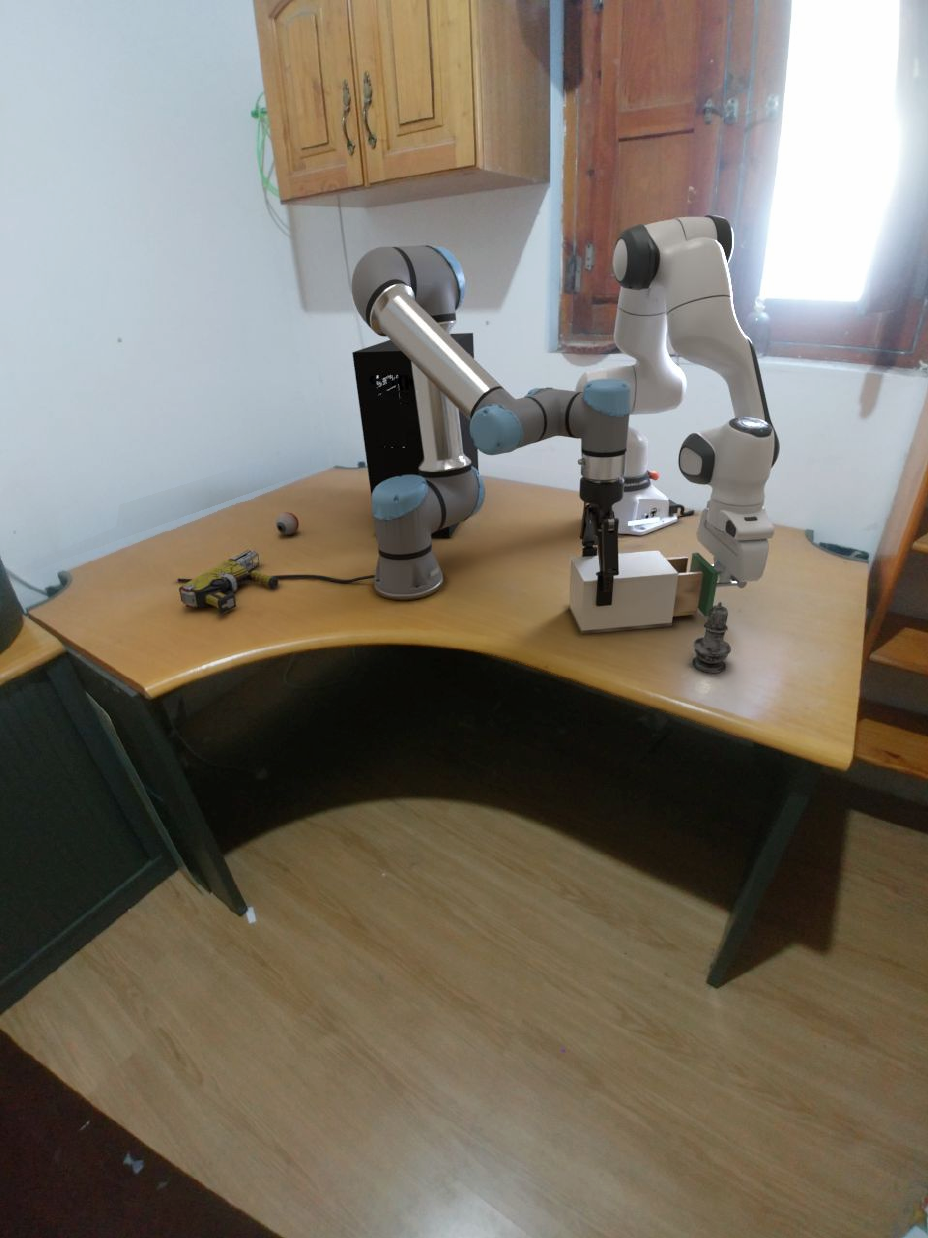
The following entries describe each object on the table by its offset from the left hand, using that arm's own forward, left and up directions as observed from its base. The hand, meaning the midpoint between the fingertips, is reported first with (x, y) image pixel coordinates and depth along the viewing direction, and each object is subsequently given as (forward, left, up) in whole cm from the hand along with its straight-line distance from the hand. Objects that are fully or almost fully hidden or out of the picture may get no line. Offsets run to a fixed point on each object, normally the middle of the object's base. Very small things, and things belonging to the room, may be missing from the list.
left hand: (595, 591), depth 115 cm
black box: (-58, +46, -6) cm, 74 cm away
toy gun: (-77, -12, -6) cm, 78 cm away
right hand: (+22, +11, 0) cm, 25 cm away
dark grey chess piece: (+22, -9, -6) cm, 24 cm away
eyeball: (-88, +19, -6) cm, 91 cm away
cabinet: (+4, +2, -6) cm, 8 cm away
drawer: (+14, +8, -5) cm, 17 cm away
